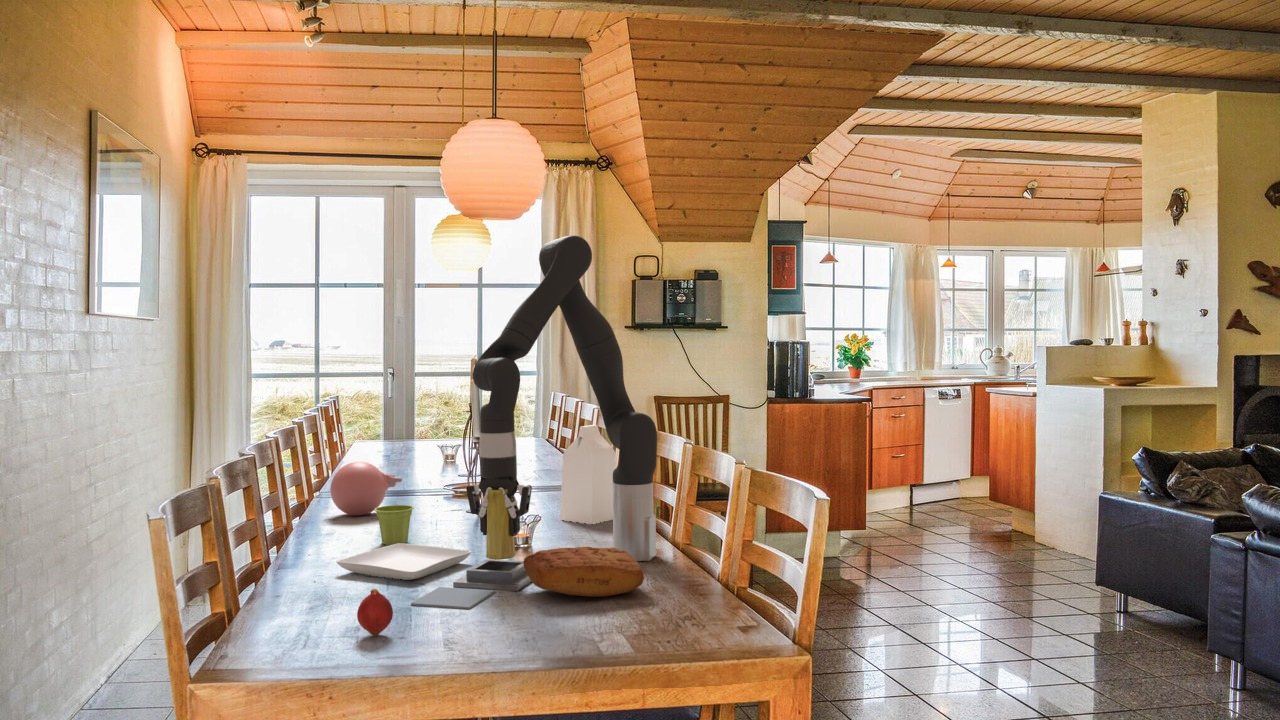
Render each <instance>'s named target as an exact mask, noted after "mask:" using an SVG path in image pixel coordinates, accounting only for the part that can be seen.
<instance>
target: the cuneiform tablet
mask: <svg viewBox="0 0 1280 720" xmlns="http://www.w3.org/2000/svg"><path fill="white" fill-rule="evenodd" d="M523 564H524V568H525V570H526V572H527V574H528V576H529V578H530V580H531V581H532V582H531V583H532V584H533V585H534V586H535V587H538V589H539V588H540V589H542V590H544V591H545V590H546V591H551V592H554V593H559V594H562V595H563V594H564V595H570V596H580V597H582V596H583V597H592V598H593V597H594V598H596V597H602V598H603V597H610V596H615V595H620V594H621V595H622V594H625V593H629V592H632V591H633V590H635V589H637V588H639V587H641V586H642V585H643V583H644V580H645V574H644V570H643V568H642V566H641V565H640V564H639V561H636V560H635V559H634V558H633V557H632V556H631V555H630V554H628V552H626V551H623V550H618V549H617V548H613V547H592V546H577V547H558V548H551V549H542V550H541V549H540V550H538V551H536V552H534V553H532V554H530V555H527V556H526V557H524V559H523Z"/></svg>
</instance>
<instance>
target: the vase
mask: <svg viewBox="0 0 1280 720" xmlns="http://www.w3.org/2000/svg"><path fill="white" fill-rule="evenodd" d="M504 490H505V492H506V494H507V495H508V489H504ZM505 499H506V498H505V495H503V490H489V489H488V494H487V535H486V545H485V546H486V547H485V548H486V554H485V557H486V559H490V560H508V559H512V558H514V557H516V554H517V553H516V545H515V544H516V543H515V536H511V528H510V518H512V517H511V515H510V513H509V511H508V509H507V508H506V506H505ZM512 500H513V499H510V501H511V502H512Z"/></svg>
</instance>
